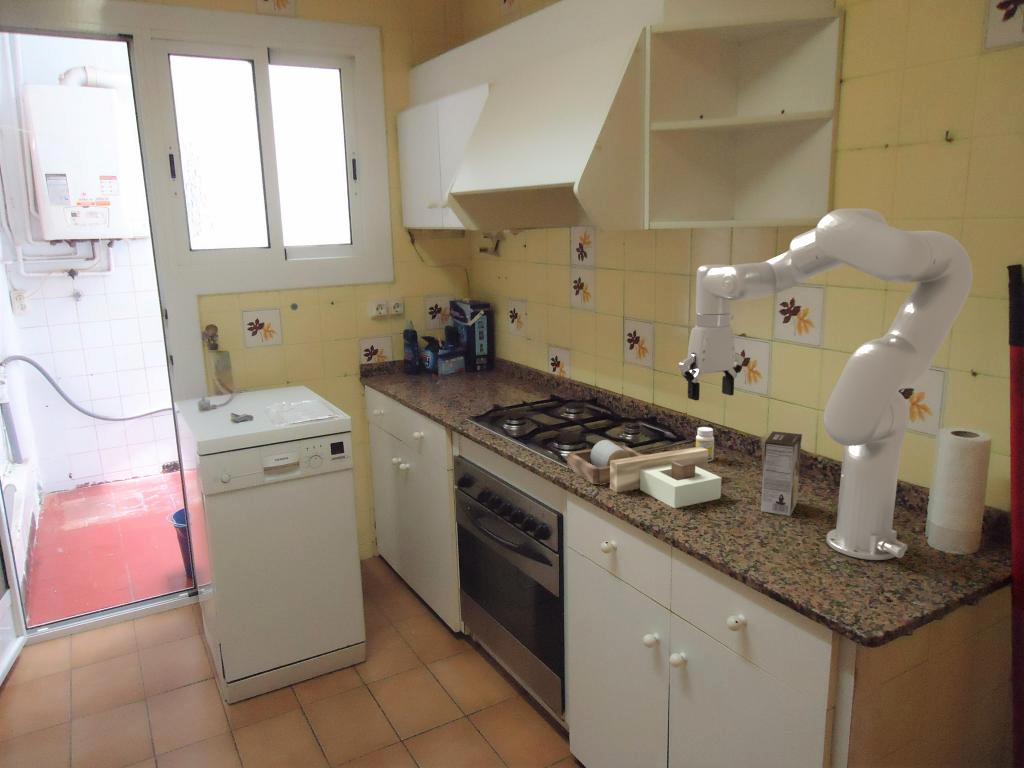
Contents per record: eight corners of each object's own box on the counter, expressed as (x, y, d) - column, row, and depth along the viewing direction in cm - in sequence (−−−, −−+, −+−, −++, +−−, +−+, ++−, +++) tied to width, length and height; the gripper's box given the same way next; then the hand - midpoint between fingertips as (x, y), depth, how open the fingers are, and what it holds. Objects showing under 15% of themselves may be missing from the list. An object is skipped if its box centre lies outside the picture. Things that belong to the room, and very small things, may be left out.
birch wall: (707, 476, 177) (708, 449, 175) (616, 492, 167) (616, 464, 165) (699, 473, 179) (700, 446, 178) (609, 488, 170) (610, 460, 168)
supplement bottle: (699, 455, 193) (701, 425, 192) (716, 458, 190) (717, 428, 189) (691, 459, 190) (693, 429, 188) (708, 463, 187) (710, 432, 185)
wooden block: (669, 493, 166) (671, 461, 164) (683, 490, 168) (684, 458, 166) (681, 499, 162) (682, 466, 161) (694, 496, 164) (696, 463, 163)
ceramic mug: (607, 479, 176) (608, 449, 174) (589, 470, 183) (590, 441, 181) (642, 473, 180) (643, 444, 179) (623, 464, 188) (624, 436, 186)
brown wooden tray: (654, 475, 178) (654, 460, 177) (594, 486, 171) (594, 470, 171) (622, 458, 191) (622, 444, 191) (566, 467, 185) (566, 452, 184)
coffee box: (767, 497, 163) (772, 430, 159) (797, 502, 160) (802, 433, 156) (760, 511, 155) (764, 440, 151) (791, 517, 152) (796, 444, 148)
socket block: (720, 498, 163) (721, 477, 162) (674, 508, 157) (675, 486, 156) (684, 480, 174) (684, 461, 173) (639, 489, 169) (640, 469, 168)
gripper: (732, 317, 164) (729, 389, 167) (670, 322, 157) (669, 398, 160) (755, 320, 157) (752, 395, 161) (692, 325, 150) (690, 404, 154)
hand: (710, 396), depth 161 cm, fingers open, 9 cm apart
